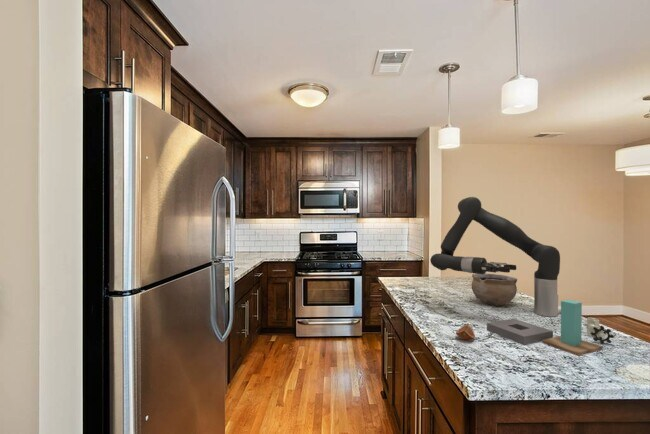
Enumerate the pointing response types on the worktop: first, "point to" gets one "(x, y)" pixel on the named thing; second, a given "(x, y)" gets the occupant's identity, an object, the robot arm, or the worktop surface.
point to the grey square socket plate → (519, 331)
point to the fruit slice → (466, 333)
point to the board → (576, 350)
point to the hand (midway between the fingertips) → (512, 268)
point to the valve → (597, 330)
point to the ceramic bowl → (494, 288)
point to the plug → (571, 322)
